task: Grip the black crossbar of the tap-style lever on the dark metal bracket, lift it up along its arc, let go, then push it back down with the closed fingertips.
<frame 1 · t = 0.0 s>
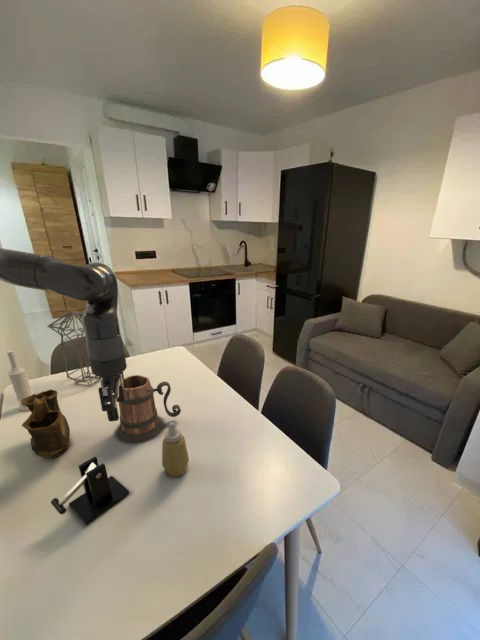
hand: (117, 410, 74), 27 cm above the table, tool pointing down, fingers open, 8 cm apart
squeeze bottle: (176, 470, 92), on the table
bottle: (28, 407, 118), on the table
tankard: (150, 426, 111), on the table
lever: (77, 486, 74), point 9 cm above the table, hinge at -25.0°
bracket: (100, 500, 81), on the table
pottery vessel: (54, 448, 98), on the table
geometric lantern: (88, 382, 139), on the table
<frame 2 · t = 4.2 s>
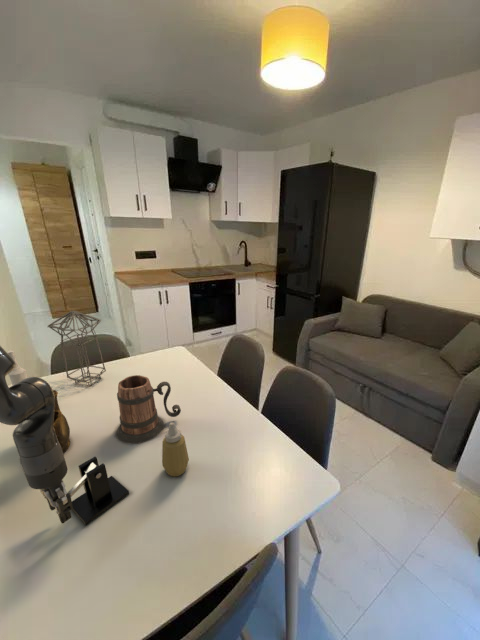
hand: (61, 513, 72), 4 cm above the table, tool pointing down, fingers closed on lever, 5 cm apart
lever: (77, 486, 74), point 9 cm above the table, hinge at -25.0°, touching gripper
everything else where it was.
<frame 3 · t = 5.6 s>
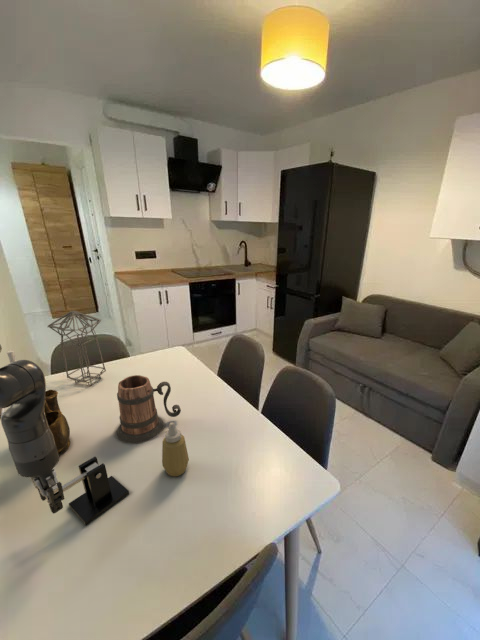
hand: (52, 503, 70), 9 cm above the table, tool pointing down, fingers closed on lever, 5 cm apart
lever: (74, 481, 73), point 11 cm above the table, hinge at -0.5°, touching gripper
everything else where it was.
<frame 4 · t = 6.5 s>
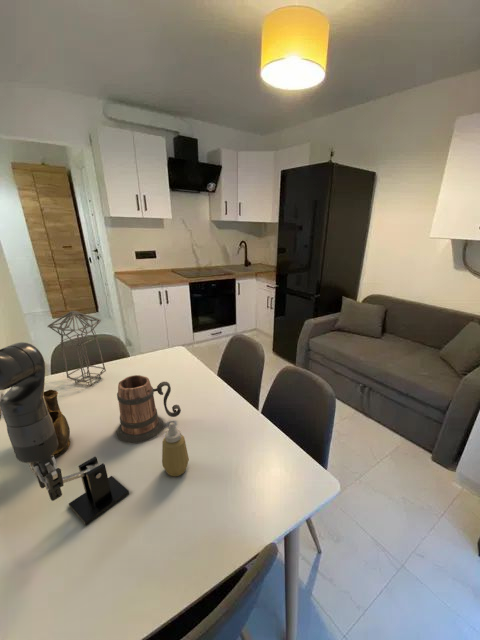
hand: (51, 491, 69), 12 cm above the table, tool pointing down, fingers closed on lever, 5 cm apart
lever: (73, 476, 72), point 13 cm above the table, hinge at 19.4°, touching gripper
everything else where it was.
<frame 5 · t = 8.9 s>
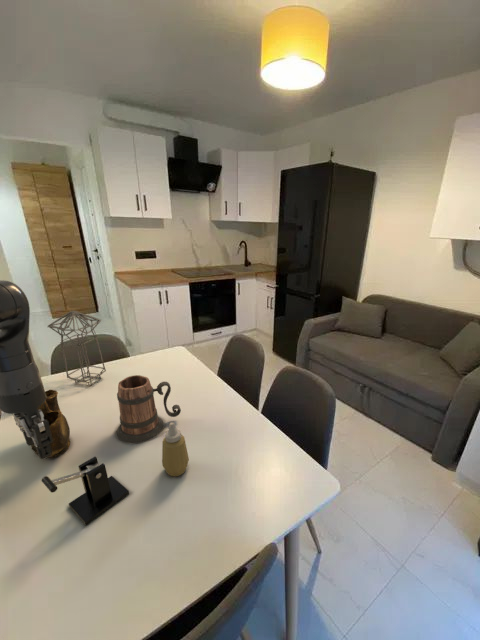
hand: (39, 449, 64), 25 cm above the table, tool pointing down, fingers open, 6 cm apart
lever: (73, 476, 72), point 13 cm above the table, hinge at 20.0°
everything else where it was.
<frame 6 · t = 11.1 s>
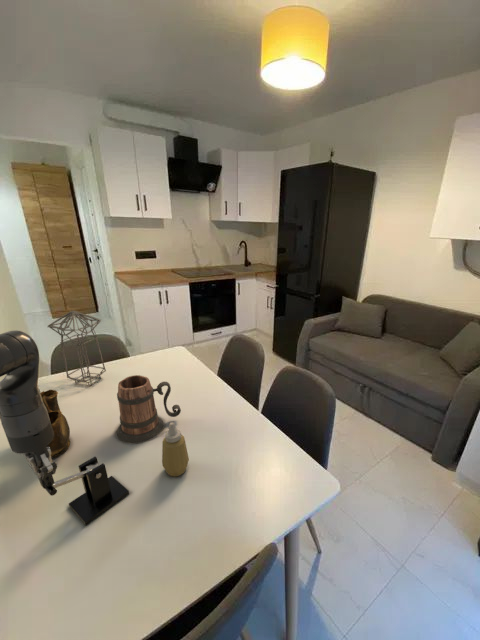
hand: (48, 485, 68), 14 cm above the table, tool pointing down, fingers closed
lever: (73, 477, 73), point 12 cm above the table, hinge at 15.2°, touching gripper
everything else where it was.
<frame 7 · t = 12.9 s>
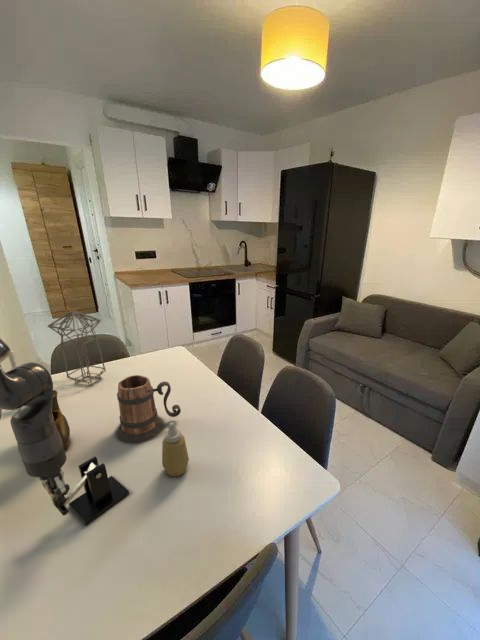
hand: (60, 504, 71), 7 cm above the table, tool pointing down, fingers closed
lever: (78, 486, 74), point 9 cm above the table, hinge at -29.8°, touching gripper
everything else where it was.
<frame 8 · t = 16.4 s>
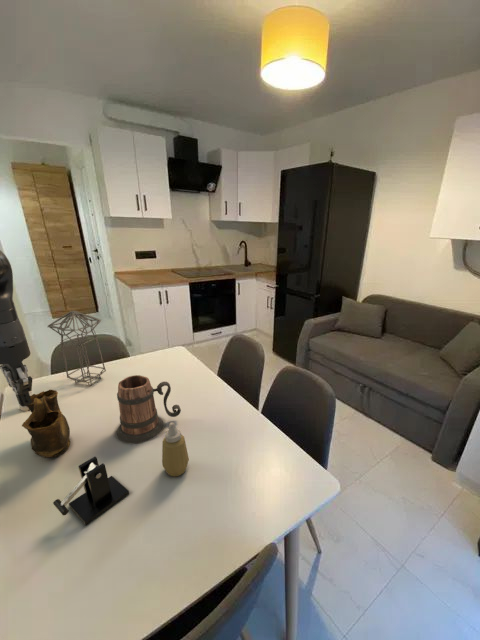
hand: (25, 404, 72), 29 cm above the table, tool pointing down, fingers closed
lever: (78, 486, 74), point 9 cm above the table, hinge at -29.8°
everything else where it was.
at the end: lever reached +20° during the clip, -30° at the end; lever at -30° (first picture: -25°); the gripper is holding nothing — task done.
